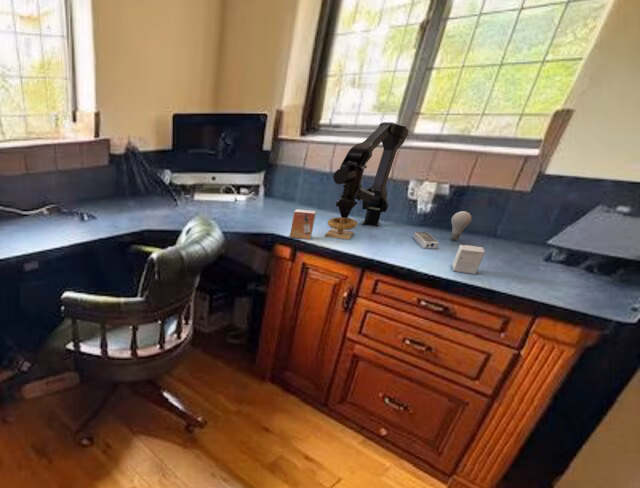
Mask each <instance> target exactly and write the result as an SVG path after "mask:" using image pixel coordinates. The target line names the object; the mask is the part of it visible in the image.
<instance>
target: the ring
mask: <svg viewBox="0 0 640 488" xmlns="http://www.w3.org/2000/svg"><path fill="white" fill-rule="evenodd" d="M340 218H341V216H337V217H332V218H330V219H329V220H327V222H326V223H327V225H328V227H329V228H330V229H337V230H338V229H339V230H345V231H351V230H353V229H356V227H357V226H358V221H357V220H355V219H354V218H350V217H348V218H346V221H345V224H342V223H340Z"/></svg>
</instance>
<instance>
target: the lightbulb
mask: <svg viewBox="0 0 640 488" xmlns="http://www.w3.org/2000/svg"><path fill="white" fill-rule="evenodd" d="M450 220H451V226H452V230H451V236H450V239H452V240H453V241H456V240H459V239H460V237H461V234H462V233H463V231H464V230H465V228H466V227H467V226H468V225H469V224H471V222H472V215H471V214H470V213H469V212H468V211H463V210H461V211H458V212H456V213H454V214H453V215H452V217H451V219H450Z"/></svg>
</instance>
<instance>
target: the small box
mask: <svg viewBox="0 0 640 488" xmlns="http://www.w3.org/2000/svg"><path fill="white" fill-rule="evenodd" d="M316 216H317V210H309V209H308V210H307V209H298V208H296V209H295V210H294V212H293V216H292V222H291V227H290V233H289V238H295V239H303V240H310V239H311V237H312V235H313V230H314V225H315V220H316Z"/></svg>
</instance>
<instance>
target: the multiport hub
mask: <svg viewBox="0 0 640 488" xmlns="http://www.w3.org/2000/svg"><path fill="white" fill-rule="evenodd" d="M413 240H415V241H416V242H417V243H418V244H419V245H420V246H421V247H422V248H423V249H433V250H437V249H438V246H439V244H440V243H439V241H438V240H436V239H435V238H434V237H433V236H432V235H430V233H428V232H422V231H415V232H414V234H413Z"/></svg>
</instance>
